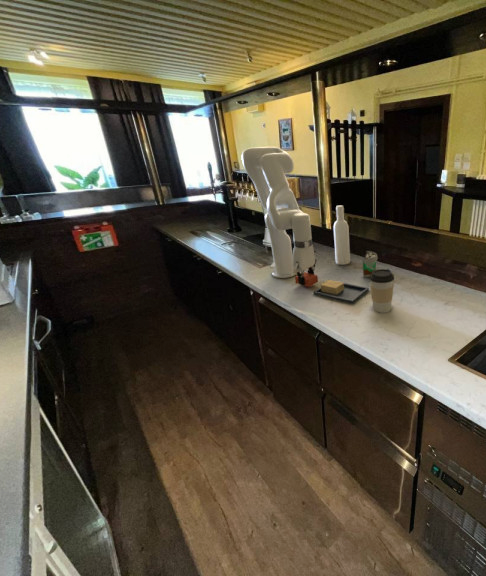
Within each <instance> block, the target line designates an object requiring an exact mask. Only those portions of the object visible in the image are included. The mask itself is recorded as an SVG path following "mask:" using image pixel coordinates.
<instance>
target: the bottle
mask: <svg viewBox="0 0 486 576" xmlns="http://www.w3.org/2000/svg"><path fill="white" fill-rule="evenodd" d="M335 211H336V221H334V223H333V240H334V255H335V256H334V258H335V259H334V260H335V264H336V265H341V266H344V265H349V264H350V263H351V249H350V248H351V247H350V232H349V230H350V229H349V228H350V227H349V224H348V221H346V220H345V208H344V205H336V207H335Z"/></svg>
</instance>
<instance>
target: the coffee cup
mask: <svg viewBox="0 0 486 576" xmlns="http://www.w3.org/2000/svg"><path fill="white" fill-rule="evenodd" d="M394 280H395V274H393V273H392V271H391V269H388V268H387V269H382V268H381V269H379V268H378V269H376V270H375V271H373V273H372V274H371V275H370V277H369V281H370V282H369V283H370V284H369V286H370V295H371V301H372V302H371V303H372V310H373V311H375V312H377V313H388V312H390V311H391V309H392V302H393V301H392V300H393V296H394V295H393V293H394V286H395V285H394V282H395V281H394Z"/></svg>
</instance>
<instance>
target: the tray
mask: <svg viewBox="0 0 486 576" xmlns="http://www.w3.org/2000/svg"><path fill="white" fill-rule="evenodd" d="M331 280H332V279H331ZM332 281H334V280H332ZM343 283H344V290H343V291H341V292H340V293H338V294H337V295H335V294H330V293H326V292H322V291H321V286H320V287H319V288H317V289H316V290H314V291H313V295H314V296H319V297H321V298H326V299H331V300H334V301H339V302H342V303H347V304H351V305H353V304H354V303H355V302H357V301H358V300H359V299H360V298H361V297H363V296H364V295H366V293H367V292H370V291H369V290H370V289H369V287H367V286H363V285H362V286H361V285H356V284H351V283H347V282H343Z"/></svg>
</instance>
